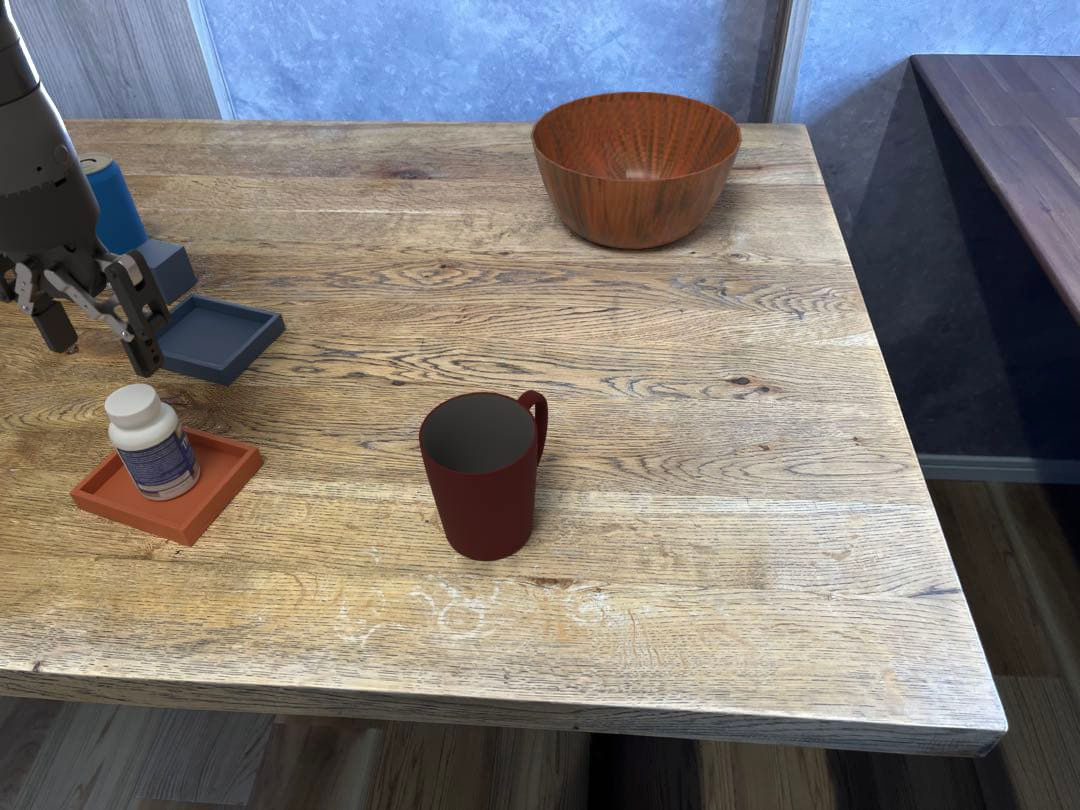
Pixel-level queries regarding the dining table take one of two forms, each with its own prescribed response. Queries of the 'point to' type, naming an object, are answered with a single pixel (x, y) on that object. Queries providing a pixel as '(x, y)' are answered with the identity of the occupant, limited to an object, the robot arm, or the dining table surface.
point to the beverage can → (113, 204)
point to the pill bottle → (151, 442)
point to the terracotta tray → (180, 516)
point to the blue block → (168, 268)
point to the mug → (485, 469)
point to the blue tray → (216, 337)
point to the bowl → (635, 165)
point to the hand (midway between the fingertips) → (108, 358)
